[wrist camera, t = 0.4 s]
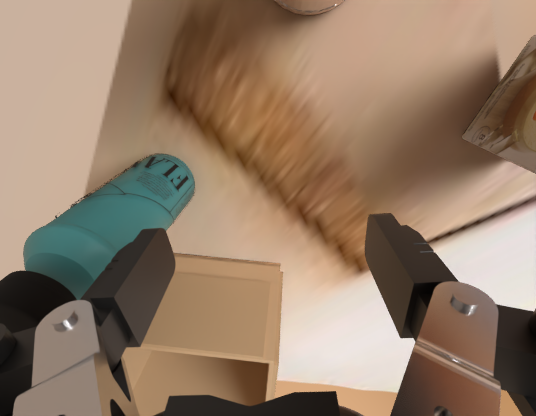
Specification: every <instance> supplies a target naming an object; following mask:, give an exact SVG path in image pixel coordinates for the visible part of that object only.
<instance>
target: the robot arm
mask: <svg viewBox="0 0 536 416" xmlns="http://www.w3.org/2000/svg"><path fill="white" fill-rule="evenodd" d="M274 1H275V2H277V3H278V4H279V5H280V6H282V7H283V8H285V9H287V10H289V11H291V12H293V13H296V14H302V15H317V14H321V13H324V12H327V11H330V10H331V9H333V8H335V7H336V6H338V5H340V4H341V3H342V2H344V1H345V0H274ZM365 257H366V261H367V264H368V266H369V268H370V271H371V273H372V275H373V277H374V280H375V282H376V284H377V286H378V289H379V291H380V293H381V295H382V298H383V300H384V302H385V304H386V307H387V309H388V311H389V313H390V315H391V318H392V320H393V322H394V324H395V327H396V329H397V331H398V333H399V336H400V338H414V340H415V345H414V348H413V351H412V354H411V357H410V360H409V362H408V365H407V368H406V371H405V374H404V377H403V380H402V383H401V386H400V389H399V392H398V395H397V397H396V400H395V403H394V406H393V409H392V412H391V415H390V416H499V413H500V397H501V389H502V390H506V391H507V392H508V393H509V395H510V397H511V398H512V400H513V401H514V403H515V405H516V406H517V407H518V409H519V411H520V412H521V414H522V416H536V309H535V311H534V312H533V311H528V310H522V309H517V308H512V307H506V306H501V305H497V304H495V302H494V301H493V300H492V299H491V298H490V297H489V296H488V295H487V294H486V293H484V292H483V291H481V290H479V289H478V288H476V287H474V286H471V285H468V284H465V283H461V282H459V281H458V280H457V279H456V278H455V276H454V275H453V274H452V273H451V271H450V270H449V269H448V268H447V267H446V265H445V264H444V263H443V262H442V260H441V259H440V258H439V257H438V255H437V254H436V253H434V252H433V249H432V248H431V247H430V246H429V244H427V242H426V241H425V239H424V238H423V237H422V236H421V235H420V233H418V232H417V231H415V230H414V229H412V228H410V227H409V226H407V225H402V226H401V225H400V224H399V223H398V221H397V220H396V219H395V217H394V216H393V215H392V214H391V213H384V214H370V215H369V217H368V222H367V231H366V240H365ZM175 266H176V262H175V257H174V254H173V251H172V248H171V245H170V242H169V239H168V236H167V233H166V231H165V229H164V228H150V229H142V230H141V231H140V233H139V234H138V235H137V237H136V238H135V239H134V241H133V242H130V243H128V244H127V245H126V246H124V247H123V248H122V249H120V250H119V251H118V252H117V253H116V255H115V256H114V257H113V258H112V260H111V262H109V263H108V265H107V266H106V267H105V270H104V271H102V272H101V274H100V275H99V276H98V277H97V279H96V280H95V281H94V282H93V284H92V285H91V286H90V287H89V289H88V290H87V291H86V292H85V294H84V295H83V296H82V298H81V299H80V300H76V301H72V302H68V303H66V304H64V305H61V306H59V307H58V308H56V309H54V310H53V311H52V312H50V313H49V314H48V315H47V316H45V317H44V318H43V319H42V321H41V322H40V323H39V325H38V326H37V327H33V328H30V329H26V330H23V331H20V332H16V333H13V334H12V333H11V332H10V331H9V330H8V329H7V328H6V326H5V325H4V324H1V323H0V416H140V415H139V412H138V409H137V406H136V403H135V399H134V395H133V391H132V387H131V383H130V379H129V376H128V372H127V368H126V364H125V361H124V358H123V357H122V355H123V353H124V351H125V349H126V348H128V347H141V344H142V342H143V340H144V338H145V336H146V334H147V331H148V329H149V327H150V325H151V323H152V320H153V318H154V316H155V314H156V312H157V309H158V307H159V305H160V303H161V301H162V299H163V296H164V294H165V292H166V290H167V288H168V285H169V283H170V281H171V279H172V277H173V275H174V272H175ZM154 416H363V415H361V414H360V413H358V412H356V411H353V410H351V409H348V408H346V407H342V406H339V405H338V400H337V394H336V391H331V392H294V393H291V394H288V395H284V396H281V397H278V398H275V399H272V400H269V401H266V402H263V403H260V404H257V405H253V406H247V405H243V404H239V403H236V402H232V401H229V400H226V399H222V398H219V397H215V396H212V395H179V396H169V398H168V401H167V405H166V408H165V411H162V412H160V413H158V414H156V415H154Z"/></svg>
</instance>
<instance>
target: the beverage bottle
mask: <svg viewBox="0 0 536 416" xmlns="http://www.w3.org/2000/svg"><path fill="white" fill-rule="evenodd" d="M151 155H152V154H151ZM151 155H150V156H149V157H146V158H145V157H144V158H145V159H143V158H142V159H143V160H141V162H140V160H139V161H138V162H139V163H138V162H136V163H135V164H134V165H133V166H132V167H131V166H130V167H131V168H130V167H129V168H130V169H129V168H128V169H129V170H127V169H125V170H127V171H126V172H125V171H124V173H123V174H121V175H120V176H118V177H117V178H115V179H114V180H112V181H110V182H109V183H104V184H106V185H103V184H102V185H103V187H102V188H100V187H101V186H102V185H101V186H100V187H99V188H100V189H99V188H98V189H99V190H97V191H96V190H95V191H96V192H94V193H91V192H90V193H91V194H90V193H89V194H90V195H89V194H87V195H85V196H84V198H85V197H86V196H87V198H85V199H83V200H82V201H81V202H79V203H78V204H77V203H76V204H72V205H73V207H72V206H71V208H70V209H68V210H67V211H66V212H64V213H63V214H61V215H60V216H59V217H56V216H55V217H56V219H54V220H53V221H52V222H50V223H49V224H47V225H46V226H43V227H41V228H39V229H37V230H36V231H35V232H33V233H32V234H31V235H30V236H29V237H28V239H27V240H26V242H25V245H24V252H23V255H24V265H25V270H26V271H16V272H12V273H10V274H9V275H7V276H6V277H5V278H3V279H2V280H1V281H0V323H1V324H4V325H5V326H6V328H7V329H8V330H9V331H10V332H11V333H12V334H13V333H16V332H20V331H23V330H26V329H30V328H33V327H37V326H38V325H39V323H40V322H41V321H42V319H43V318H44V317H45V316H47V315H48V314H49V313H50V312H52V311H53V310H54V309H56V308H58V307H59V306H61V305H64V304H66V303H68V302H72V301H76V300H80V299H81V298H82V296H83V295H84V294H85V292H86V291H87V290H88V289H89V287H90V286H91V285H92V284H93V282H94V281H95V280H96V279H97V277H98V276H99V275H100V274H101V272H102V271H104V270H105V267H106V266H107V265H108V263H109V262H111V260H112V258H113V257H114V256H115V255H116V253H117V252H118V251H119V250H120V249H122V248H123V247H124V246H126V245H127V244H128V243H130V242H133V241H134V239H135V238H136V237H137V235H138V234H139V233H140V231H141V230H142V229H150V228H164V229H165V231H166V230H167V229H168V228H169V227H170V226H171V224H172V223H173V222H174V220H176V218H177V217H178V215H179V214H180V213H181V211H182V210H183V209H184V207H185V206H186V205H187V204H188V202H189V201H190V200H191V198H192V196H193V195H194V194H195V193H194V187H195V182H194V178H193V175H192V172H191V171H190V169H189V168H188V166H187V165H186V164H185V163H184V162H183V161H181V160H180V159H178V158H176V157H174V156H171V155H167V154H157V155H152V156H151ZM137 163H138V164H137ZM122 172H123V171H122ZM122 172H121V173H122ZM118 175H119V174H118ZM116 176H117V175H116ZM81 199H82V198H81ZM78 201H79V200H78ZM180 215H181V214H180ZM177 219H178V218H177ZM174 223H175V222H174ZM174 223H173V224H174Z"/></svg>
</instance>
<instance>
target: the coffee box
mask: <svg viewBox="0 0 536 416" xmlns="http://www.w3.org/2000/svg"><path fill="white" fill-rule="evenodd" d="M462 139H464V140H466V141H468V142H470V143H472V144H475V145H477V146H479V147H481V148H483V149H485V150H487V151H489V152H491V153H493V154H495V155H497V156H499V157H501V158H503V159H506V160H508V161H510V162H512V163H514V164H516V165H518V166H520V167H523V168H525V169H527V170H529V171H531V172H533V173H535V174H536V35H534V36H533V37H531V39H530V40H529V41H528V43H527V44H526V46H525V47H524V49H523V50H522V52H521V53H520V54H519V56H518V57H517V59H516V60H515V62H514V63H513V64H512V66H511V67H510V69H509V70H508V72H507V73H506V75H505V76H504V77H503V79H502V80H501V82H500V83H499V84H498V86H497V87H496V89H495V90H494V91H493V93H492V94H491V96H490V97H489V99H488V100H487V102H486V103H485V104H484V106H483V107H482V109H481V110H480V112H479V113H478V114H477V116H476V117H475V119H474V120H473V121H472V123H471V124H470V126H469V127H468V129H467V130H466V132H465V133H464V135H463V136H462Z"/></svg>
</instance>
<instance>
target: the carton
mask: <svg viewBox="0 0 536 416" xmlns="http://www.w3.org/2000/svg"><path fill="white" fill-rule="evenodd" d="M173 254H174V257H175V262H176V266H175V272H174V275H173V277H172V279H171V281H170V283H169V285H168V288H167V290H166V292H165V294H164V296H163V299H162V301H161V303H160V305H159V307H158V309H157V312H156V314H155V316H154V318H153V320H152V323H151V325H150V327H149V329H148V331H147V334H146V336H145V338H144V340H143V342H142V344H141V347H128V348H126V349H125V351H124V353H123V355H122V357H123V358H124V361H125V364H126V368H127V372H128V376H129V379H130V383H131V387H132V391H133V395H134V399H135V403H136V406H137V409H138V412H139V415H140V416H154V415H156V414H158V413H160V412H162V411H165V408H166V405H167V401H168V398H169V396H179V395H212V396H215V397H219V398H222V399H226V400H229V401H232V402H236V403H239V404H243V405H247V406H253V405H257V404H260V403H263V402H266V401H269V400H272V399H274V396H275V388H276V380H277V372H278V364H279V343H280V321H281V300H282V279H283V272H280V264H279V263H269V262H259V261H248V260H238V259H228V258H218V257H208V256H197V255H187V254H177V253H173Z"/></svg>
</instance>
